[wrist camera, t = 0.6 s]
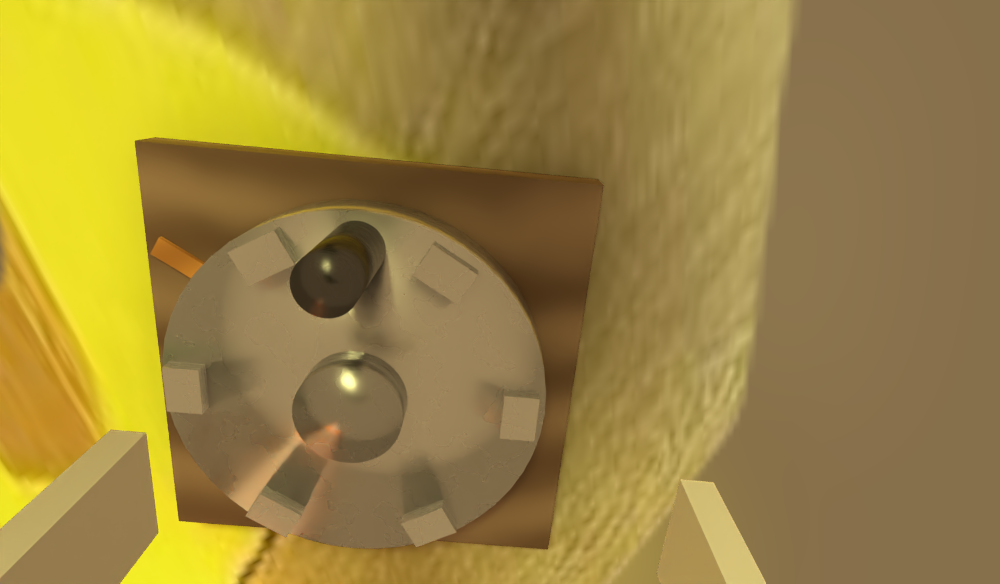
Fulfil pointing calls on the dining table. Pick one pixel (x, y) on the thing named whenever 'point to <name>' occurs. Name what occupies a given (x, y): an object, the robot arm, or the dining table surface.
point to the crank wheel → (356, 375)
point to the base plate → (421, 186)
